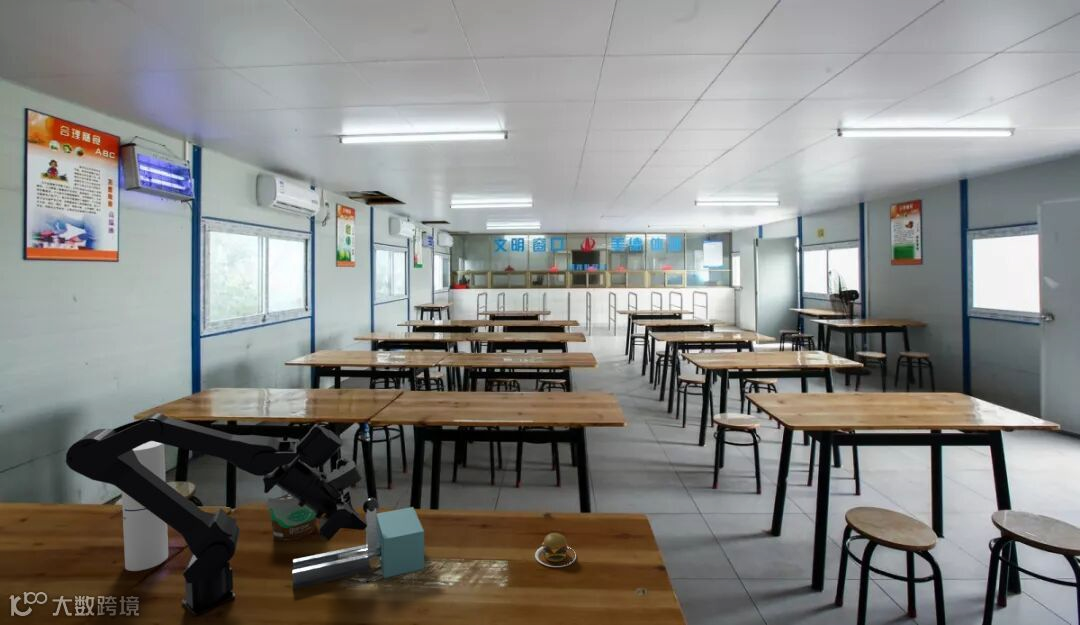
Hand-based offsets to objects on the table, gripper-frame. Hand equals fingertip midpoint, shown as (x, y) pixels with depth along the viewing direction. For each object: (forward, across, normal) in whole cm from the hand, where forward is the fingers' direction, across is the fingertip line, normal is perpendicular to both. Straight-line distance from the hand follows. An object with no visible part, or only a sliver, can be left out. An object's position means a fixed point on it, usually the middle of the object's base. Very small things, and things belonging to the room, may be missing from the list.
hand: (365, 527), depth 102 cm
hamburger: (+33, -13, -20) cm, 41 cm away
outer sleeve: (+2, 0, +10) cm, 10 cm away
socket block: (+11, 0, +1) cm, 11 cm away
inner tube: (+5, 0, +4) cm, 7 cm away
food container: (-3, +20, +15) cm, 25 cm away
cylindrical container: (-24, +21, +35) cm, 47 cm away
